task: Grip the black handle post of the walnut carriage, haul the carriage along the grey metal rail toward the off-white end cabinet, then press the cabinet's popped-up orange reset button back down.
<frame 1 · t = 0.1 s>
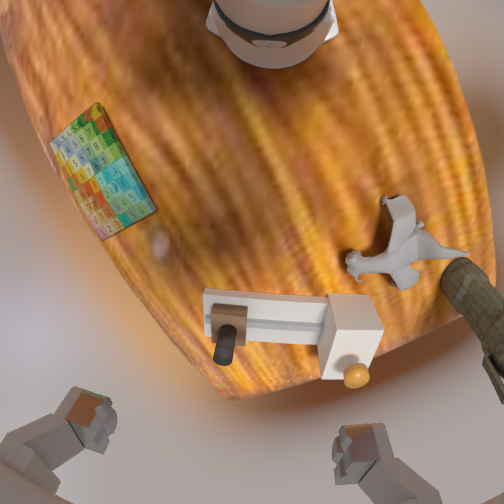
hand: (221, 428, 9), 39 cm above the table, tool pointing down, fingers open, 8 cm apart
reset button: (356, 375, 42), point 14 cm above the table, slide at 3.0 cm
rail base: (253, 314, 55), on the table
puzzle game: (108, 169, 45), on the table
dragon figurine: (393, 240, 47), on the table
carriage: (226, 338, 49), point 7 cm above the table, slide at 0.0 cm
thermos: (456, 276, 49), on the table
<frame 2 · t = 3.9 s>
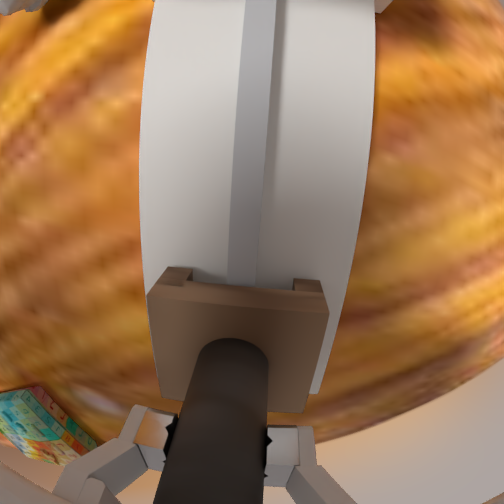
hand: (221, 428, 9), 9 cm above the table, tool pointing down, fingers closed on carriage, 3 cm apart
rail base: (248, 236, 15), on the table
puzzle game: (37, 414, 26), on the table
carriage: (226, 402, 10), point 7 cm above the table, slide at 0.0 cm, touching gripper
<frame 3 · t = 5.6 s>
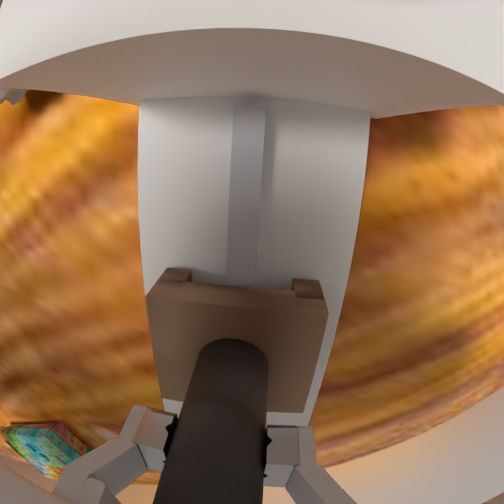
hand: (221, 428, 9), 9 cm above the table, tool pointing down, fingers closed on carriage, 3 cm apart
rail base: (241, 336, 18), on the table
puzzle game: (56, 442, 29), on the table
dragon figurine: (28, 5, 10), on the table
carriage: (226, 402, 10), point 7 cm above the table, slide at 6.3 cm, touching gripper
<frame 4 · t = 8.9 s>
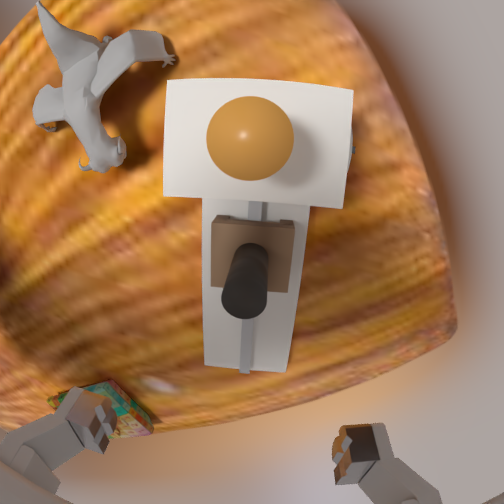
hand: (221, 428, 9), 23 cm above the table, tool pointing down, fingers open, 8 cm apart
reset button: (251, 138, 14), point 14 cm above the table, slide at 3.0 cm
rail base: (250, 299, 33), on the table
puzzle game: (101, 403, 44), on the table
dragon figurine: (105, 88, 26), on the table
carriage: (249, 269, 24), point 7 cm above the table, slide at 10.9 cm
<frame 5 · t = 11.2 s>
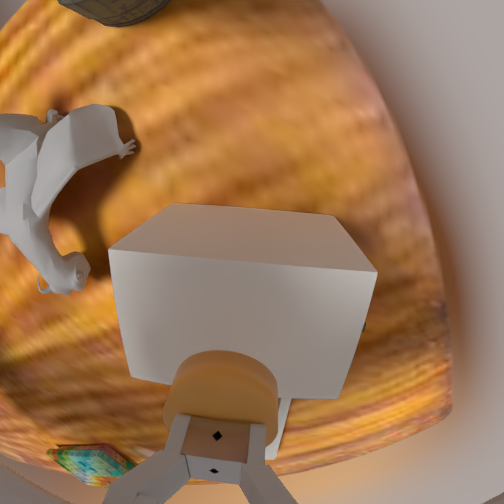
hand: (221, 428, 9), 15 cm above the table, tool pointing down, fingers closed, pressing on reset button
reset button: (222, 407, 10), point 14 cm above the table, slide at 3.0 cm, touching gripper
rail base: (239, 404, 29), on the table
puzzle game: (98, 457, 40), on the table
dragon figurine: (59, 175, 22), on the table
carriage: (234, 418, 20), point 7 cm above the table, slide at 10.9 cm
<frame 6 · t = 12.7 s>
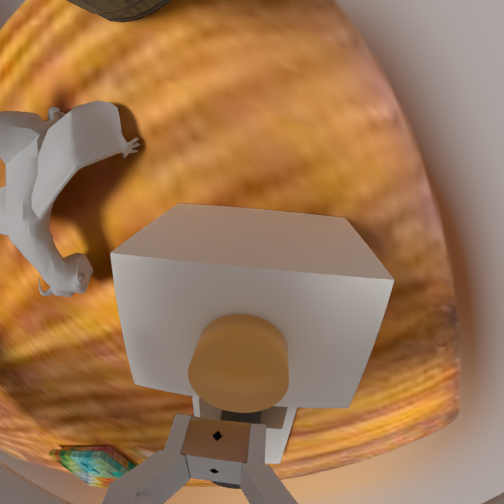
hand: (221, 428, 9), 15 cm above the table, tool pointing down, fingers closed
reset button: (240, 366, 12), point 11 cm above the table, slide at -0.1 cm
rail base: (244, 408, 28), on the table
puzzle game: (101, 458, 40), on the table
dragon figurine: (61, 174, 21), on the table
carriage: (239, 425, 19), point 7 cm above the table, slide at 10.9 cm
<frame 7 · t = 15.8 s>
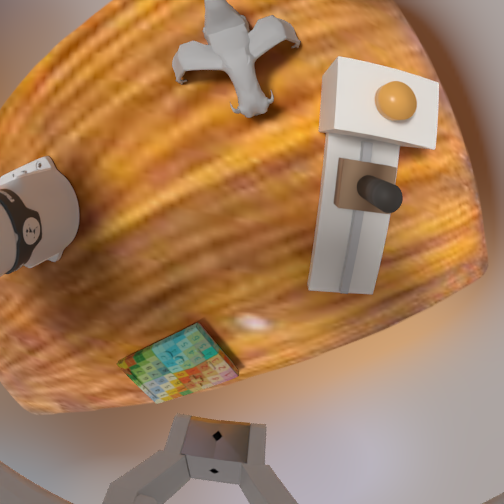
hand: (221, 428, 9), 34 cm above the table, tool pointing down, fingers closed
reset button: (395, 101, 24), point 11 cm above the table, slide at -0.1 cm
rail base: (349, 229, 41), on the table
puzzle game: (178, 357, 52), on the table
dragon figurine: (236, 55, 34), on the table
carriage: (373, 190, 32), point 7 cm above the table, slide at 10.9 cm
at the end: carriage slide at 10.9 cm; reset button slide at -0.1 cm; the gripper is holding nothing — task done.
